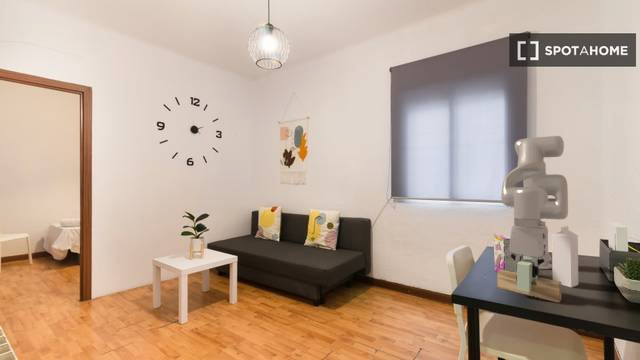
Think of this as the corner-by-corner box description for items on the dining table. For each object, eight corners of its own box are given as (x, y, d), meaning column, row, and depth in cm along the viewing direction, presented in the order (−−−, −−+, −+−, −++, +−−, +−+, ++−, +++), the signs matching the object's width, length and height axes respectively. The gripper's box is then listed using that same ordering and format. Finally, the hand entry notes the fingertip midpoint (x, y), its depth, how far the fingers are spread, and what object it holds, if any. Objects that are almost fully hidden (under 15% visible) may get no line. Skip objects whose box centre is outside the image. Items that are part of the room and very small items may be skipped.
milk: (578, 284, 111) (578, 227, 111) (571, 287, 108) (571, 228, 108) (559, 280, 117) (559, 225, 117) (551, 282, 114) (551, 226, 114)
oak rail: (500, 285, 111) (500, 269, 111) (561, 299, 97) (561, 281, 98) (497, 287, 109) (497, 271, 109) (559, 302, 95) (558, 284, 95)
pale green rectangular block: (526, 281, 108) (525, 257, 108) (537, 284, 106) (537, 259, 106) (517, 289, 101) (516, 263, 101) (529, 292, 98) (528, 265, 98)
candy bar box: (493, 270, 129) (493, 233, 129) (505, 271, 128) (505, 234, 128) (503, 279, 118) (503, 238, 118) (517, 279, 117) (517, 239, 117)
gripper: (558, 224, 100) (559, 278, 100) (503, 220, 112) (504, 268, 112) (554, 227, 95) (554, 283, 95) (497, 222, 107) (497, 272, 107)
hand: (527, 274), depth 103 cm, fingers closed on pale green rectangular block, 3 cm apart
